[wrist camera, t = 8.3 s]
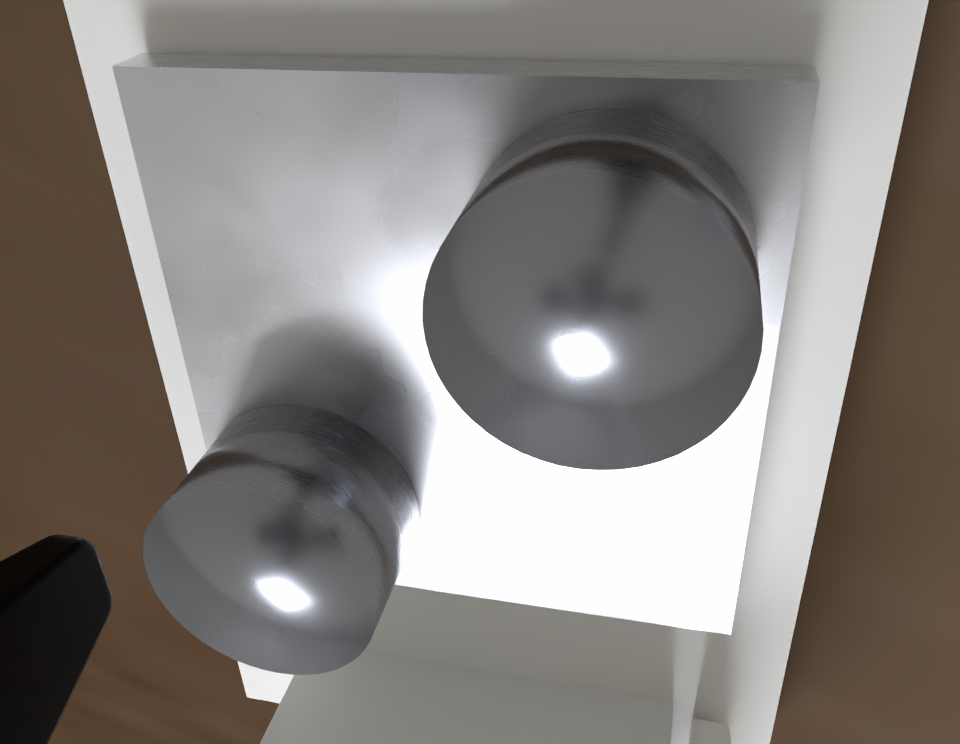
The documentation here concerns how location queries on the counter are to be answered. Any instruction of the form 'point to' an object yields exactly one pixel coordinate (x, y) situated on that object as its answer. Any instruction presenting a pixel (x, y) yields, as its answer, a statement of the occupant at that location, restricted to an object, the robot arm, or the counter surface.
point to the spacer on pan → (285, 540)
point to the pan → (401, 283)
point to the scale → (792, 401)
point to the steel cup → (599, 293)
